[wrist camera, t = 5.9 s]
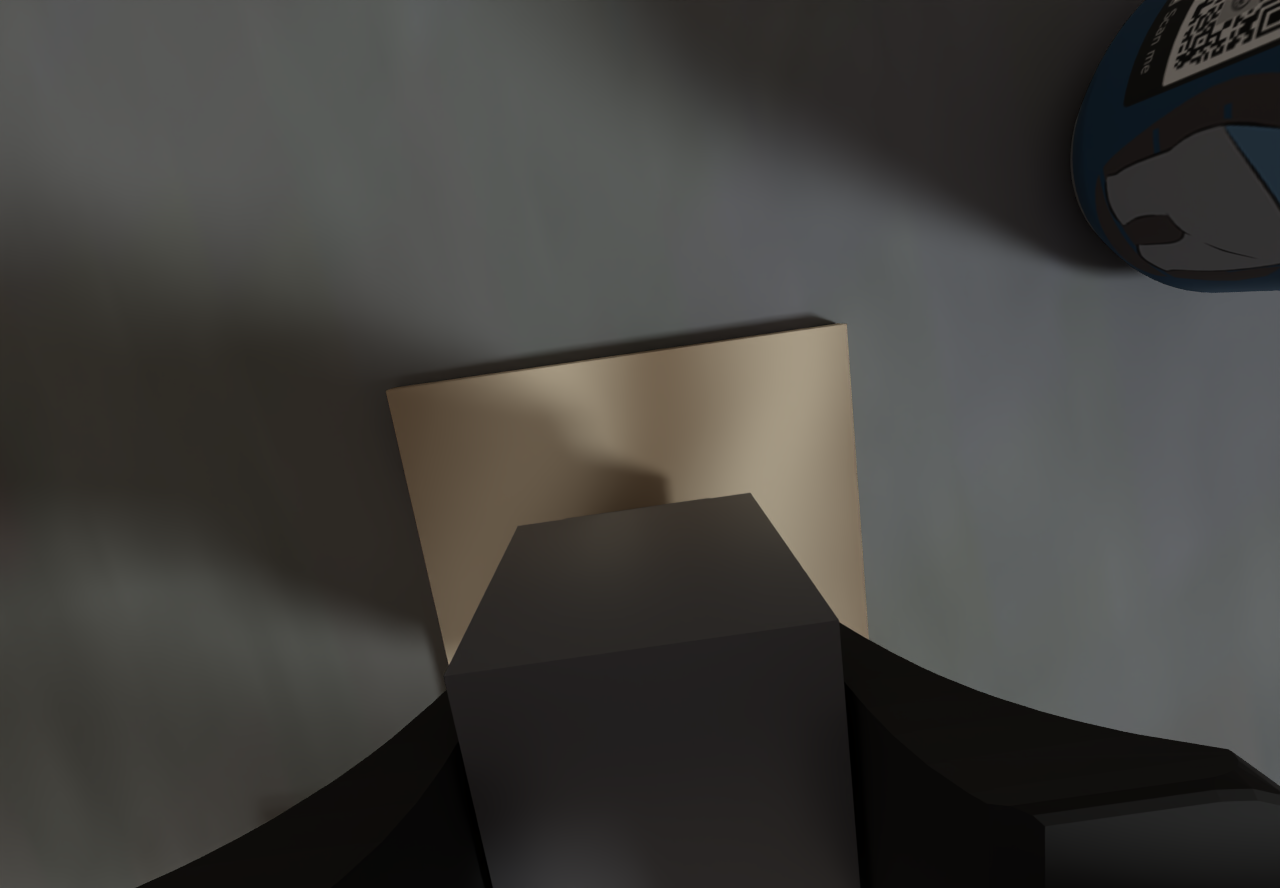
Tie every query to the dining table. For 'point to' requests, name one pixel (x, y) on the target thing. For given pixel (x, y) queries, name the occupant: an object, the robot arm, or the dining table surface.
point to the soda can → (1187, 144)
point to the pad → (637, 454)
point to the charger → (656, 707)
